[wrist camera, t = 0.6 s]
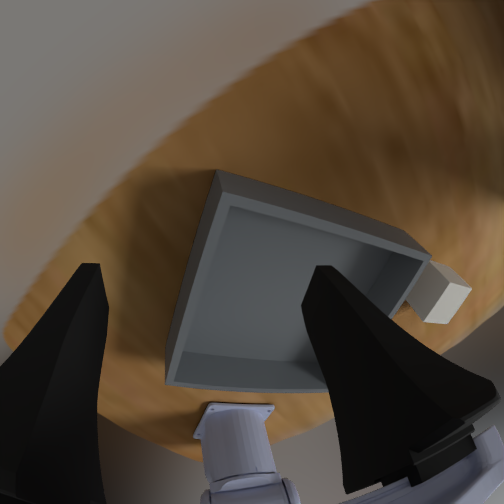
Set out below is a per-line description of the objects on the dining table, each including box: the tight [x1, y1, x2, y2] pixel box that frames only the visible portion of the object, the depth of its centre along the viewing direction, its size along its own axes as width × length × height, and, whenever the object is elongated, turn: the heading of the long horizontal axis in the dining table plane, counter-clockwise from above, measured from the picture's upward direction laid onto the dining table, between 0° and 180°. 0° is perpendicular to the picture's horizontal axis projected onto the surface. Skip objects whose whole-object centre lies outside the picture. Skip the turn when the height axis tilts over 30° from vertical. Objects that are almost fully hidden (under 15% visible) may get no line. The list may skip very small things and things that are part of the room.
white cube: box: [405, 260, 472, 324], centre depth 26 cm, size 4×4×4 cm
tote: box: [165, 169, 432, 393], centre depth 23 cm, size 16×16×4 cm
